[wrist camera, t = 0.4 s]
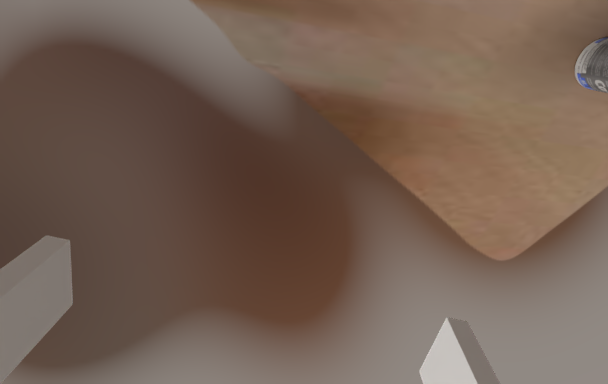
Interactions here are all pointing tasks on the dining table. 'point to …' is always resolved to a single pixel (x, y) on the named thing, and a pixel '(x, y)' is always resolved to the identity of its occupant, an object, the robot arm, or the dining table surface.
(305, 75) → the dining table surface
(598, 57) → the pill bottle
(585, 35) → the dining table surface
